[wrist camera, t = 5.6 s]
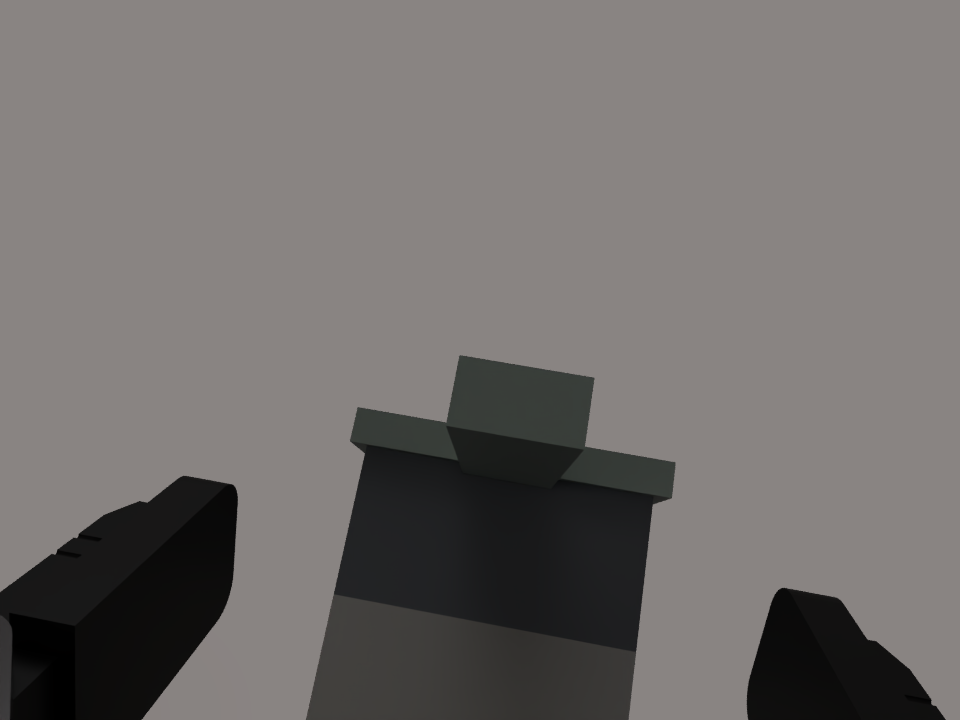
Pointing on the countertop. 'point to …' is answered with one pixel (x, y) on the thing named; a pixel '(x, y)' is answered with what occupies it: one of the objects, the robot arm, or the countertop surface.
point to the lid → (517, 432)
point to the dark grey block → (482, 598)
